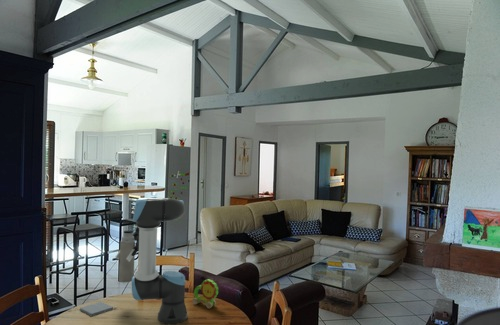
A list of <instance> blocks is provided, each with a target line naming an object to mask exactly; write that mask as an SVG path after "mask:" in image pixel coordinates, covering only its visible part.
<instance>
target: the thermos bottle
mask: <svg viewBox="0 0 500 325" xmlns="http://www.w3.org/2000/svg"><path fill="white" fill-rule="evenodd" d="M133 233H134V231H133V230H123V236H122V237H121V240H120V244H119V246H120V247H119V250H120V259H119V263H118V264H119V265H118V268H119V269H118V282H119V283H132V277H133V276H135V256H136V255H135V256H133V258H132V259H131V261H130V262H129V261H128V260H127V259H126V258H127V257H128V255H129V254H130V252H131V251H132V250H133V249H134V248H135V245H136V240H134V236H133ZM134 250H135V249H134Z"/></svg>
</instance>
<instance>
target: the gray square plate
mask: <svg viewBox="0 0 500 325" xmlns="http://www.w3.org/2000/svg"><path fill="white" fill-rule="evenodd" d="M113 309H114V308H113V306H111V305H109V304H107V303H105V302H103V301H98V302H95V303H92V304H88V305H85V306H82V307H80V308H79V310H80V311H81V312H83V313H84V314H86V315H89V316H90V317H93V316H96V315H99V314H102V313H106V312H109V311H112V310H113Z"/></svg>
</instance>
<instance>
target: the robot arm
mask: <svg viewBox="0 0 500 325" xmlns="http://www.w3.org/2000/svg"><path fill="white" fill-rule="evenodd" d="M185 214H186V206H185V201H184V200H181V199H176V198H171V197H157V196H150V197H140V198H137V200H136V202H135V206H134V211H133V218H132V222H134V223H136V224H135V226H136V228H135V230H134V231H133V236H134V240H135V248H134V249H135V250H134V249H133V250H132V251H131V252H130V254H129V255H128V257H127V258H126V259H127V260H128V261H129V262H130V261H131V259H132V258H133V256H136V254H137V253H138V257H137V258H138V261H137V262H138V266H137V267H138V268H137V269H138V270H137V271H135V272H134V276H133V277H132V281H131V293H132V297H133V299H134V300H135V301H145V300H161V305H160V308H159V310H158V312H157V321H158V322H159V323H161V324H167V325H174V324H180V323H182V322H185V321H186V320H187V319H188V311H187V307H186V304H185V300H186V296H185V292H186V290H185V289H186V276H185V274H183V273H182V272H179V271H175V270H168V271H164V272H163V273H162V275H161V274H160V273H159V271H158V270H157V245H158V244H157V241H158V228H160V226H161V224H162V222H163V223H164V222H167V223H168V222H173V221H176V220H178V219H181V218H182V217H183V216H184V215H185ZM115 259H116V260H118V261H120V249H119V250H118V252H117V253H116V255H115ZM159 274H160V275H159Z"/></svg>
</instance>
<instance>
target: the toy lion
mask: <svg viewBox="0 0 500 325" xmlns="http://www.w3.org/2000/svg"><path fill="white" fill-rule="evenodd" d="M199 290H200V291H201V293H202V294H201V295H199ZM218 294H219V286H218V284H217V283H216V282H215V280H213V279H209V278H208V279H205V280H203V281H202V282H201V284H200V285H197V286H196V287H195V288H194V290H193V298H192V300H191V301H192V304H193V305H194V306H195V305H198V304H201V303H203V304H205V307H206V308H207V309H208V310H209V309H211V308H212V307H214V306H216V304H217V301H216V300H215V299H216V298H217V297H218Z"/></svg>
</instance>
